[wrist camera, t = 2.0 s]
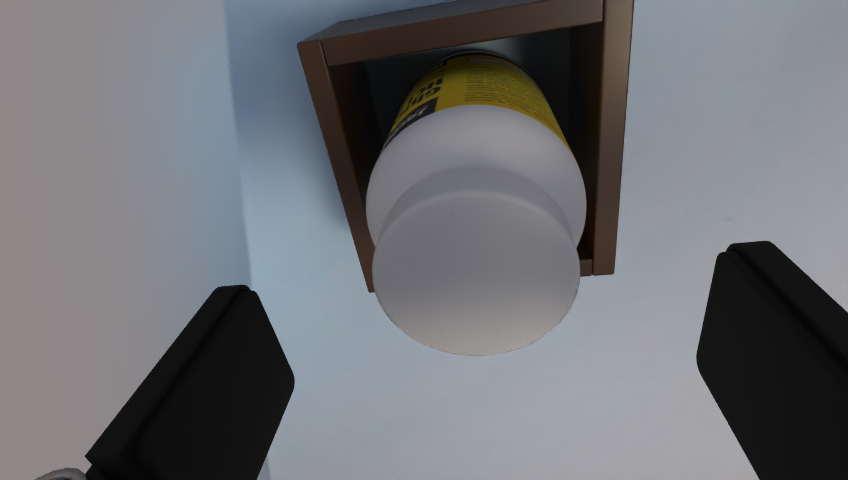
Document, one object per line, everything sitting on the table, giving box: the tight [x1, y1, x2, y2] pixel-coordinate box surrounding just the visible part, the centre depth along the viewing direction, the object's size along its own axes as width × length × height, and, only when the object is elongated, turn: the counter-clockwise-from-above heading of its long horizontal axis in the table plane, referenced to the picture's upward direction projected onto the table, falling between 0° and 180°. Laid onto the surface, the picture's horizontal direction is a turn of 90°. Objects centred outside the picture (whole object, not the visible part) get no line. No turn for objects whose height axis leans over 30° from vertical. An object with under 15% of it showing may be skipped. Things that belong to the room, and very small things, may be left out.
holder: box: [297, 0, 634, 293], centre depth 17 cm, size 10×10×5 cm
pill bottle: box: [366, 51, 586, 356], centre depth 15 cm, size 6×6×11 cm
